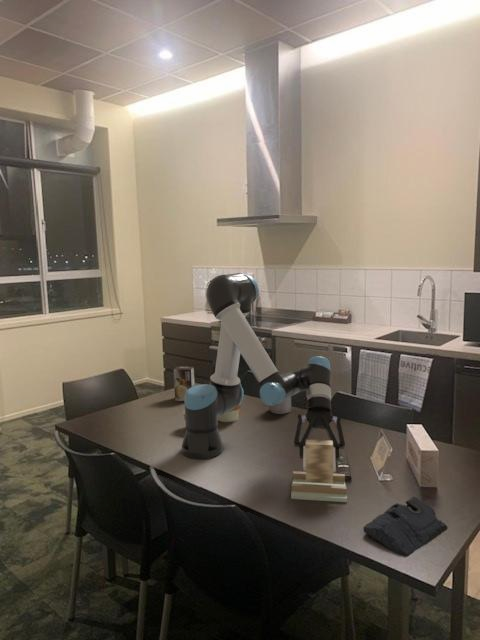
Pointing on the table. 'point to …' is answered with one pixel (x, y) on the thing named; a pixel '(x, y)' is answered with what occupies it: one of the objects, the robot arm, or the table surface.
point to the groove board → (318, 488)
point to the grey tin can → (282, 407)
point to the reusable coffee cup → (230, 415)
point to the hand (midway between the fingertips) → (319, 469)
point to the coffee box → (183, 381)
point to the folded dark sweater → (406, 526)
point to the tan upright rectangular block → (319, 461)
